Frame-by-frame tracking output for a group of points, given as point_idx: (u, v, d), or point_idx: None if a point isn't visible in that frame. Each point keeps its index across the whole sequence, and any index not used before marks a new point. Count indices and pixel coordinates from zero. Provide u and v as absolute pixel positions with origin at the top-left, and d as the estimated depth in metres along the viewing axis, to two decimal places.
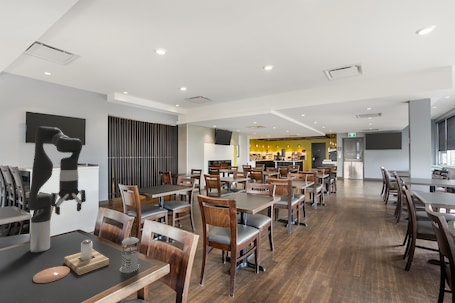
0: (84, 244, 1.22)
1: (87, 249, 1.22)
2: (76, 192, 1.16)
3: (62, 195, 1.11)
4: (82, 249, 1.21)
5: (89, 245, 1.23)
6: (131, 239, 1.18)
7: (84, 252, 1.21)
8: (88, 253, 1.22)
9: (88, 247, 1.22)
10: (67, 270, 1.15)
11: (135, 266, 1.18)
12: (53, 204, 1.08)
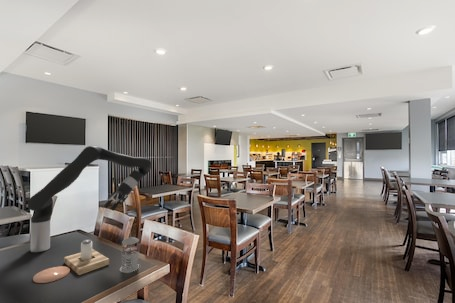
0: (84, 244, 1.22)
1: (87, 249, 1.22)
2: None
3: None
4: (82, 249, 1.21)
5: (89, 245, 1.23)
6: (131, 239, 1.18)
7: (84, 252, 1.21)
8: (88, 253, 1.22)
9: (88, 247, 1.22)
10: (67, 270, 1.15)
11: (135, 266, 1.18)
12: None
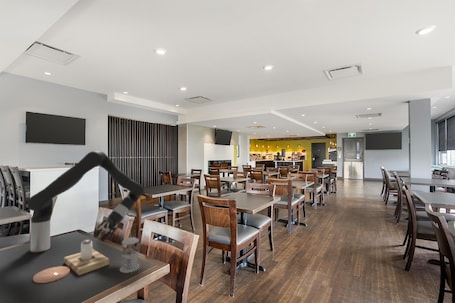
0: (84, 244, 1.22)
1: (87, 249, 1.22)
2: None
3: None
4: (82, 249, 1.21)
5: (89, 245, 1.23)
6: (131, 239, 1.18)
7: (84, 252, 1.21)
8: (88, 253, 1.22)
9: (88, 247, 1.22)
10: (67, 270, 1.15)
11: (135, 266, 1.18)
12: None
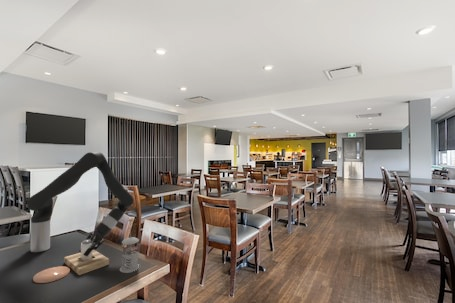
0: (84, 244, 1.22)
1: None
2: None
3: None
4: (82, 249, 1.21)
5: (89, 245, 1.23)
6: (131, 239, 1.18)
7: (84, 252, 1.21)
8: None
9: (88, 247, 1.22)
10: (67, 270, 1.15)
11: (135, 266, 1.18)
12: None
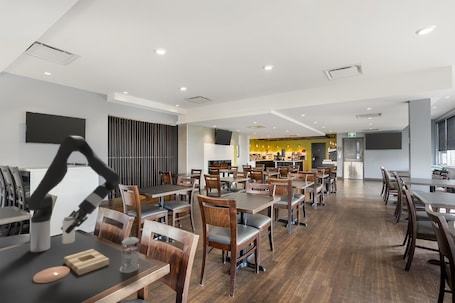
0: (66, 221, 1.15)
1: None
2: None
3: None
4: (64, 226, 1.15)
5: (71, 222, 1.16)
6: (131, 239, 1.18)
7: (65, 229, 1.15)
8: None
9: (70, 224, 1.16)
10: (67, 270, 1.15)
11: (135, 266, 1.18)
12: None
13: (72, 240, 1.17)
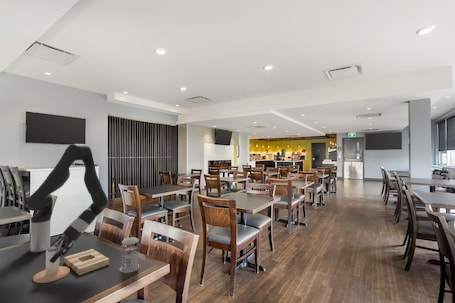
0: (49, 252, 1.10)
1: None
2: None
3: None
4: (47, 257, 1.10)
5: (55, 253, 1.11)
6: (131, 239, 1.18)
7: (48, 260, 1.10)
8: (54, 262, 1.11)
9: (53, 255, 1.10)
10: (67, 270, 1.15)
11: (135, 266, 1.18)
12: None
13: (56, 272, 1.11)
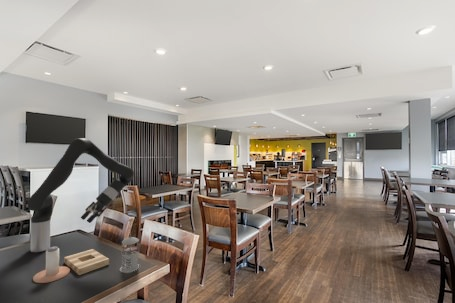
0: (49, 252, 1.10)
1: (52, 257, 1.10)
2: None
3: None
4: (47, 257, 1.10)
5: (55, 253, 1.11)
6: (131, 239, 1.18)
7: (48, 260, 1.10)
8: (54, 262, 1.11)
9: (53, 255, 1.10)
10: (67, 270, 1.15)
11: (135, 266, 1.18)
12: None
13: (56, 272, 1.11)
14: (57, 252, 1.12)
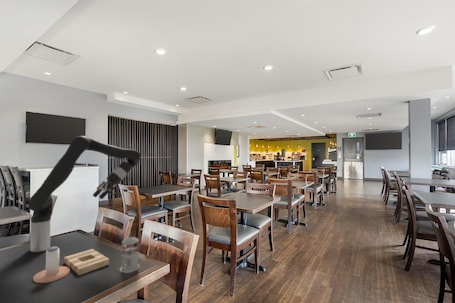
0: (49, 252, 1.10)
1: (52, 257, 1.10)
2: None
3: None
4: (47, 257, 1.10)
5: (55, 253, 1.11)
6: (131, 239, 1.18)
7: (49, 260, 1.10)
8: (54, 261, 1.11)
9: (53, 255, 1.11)
10: (67, 270, 1.15)
11: (135, 266, 1.18)
12: None
13: (56, 272, 1.11)
14: (57, 252, 1.12)
